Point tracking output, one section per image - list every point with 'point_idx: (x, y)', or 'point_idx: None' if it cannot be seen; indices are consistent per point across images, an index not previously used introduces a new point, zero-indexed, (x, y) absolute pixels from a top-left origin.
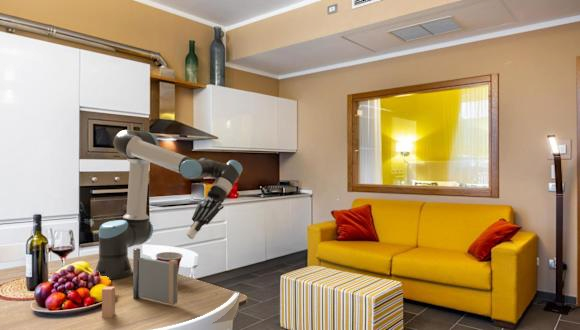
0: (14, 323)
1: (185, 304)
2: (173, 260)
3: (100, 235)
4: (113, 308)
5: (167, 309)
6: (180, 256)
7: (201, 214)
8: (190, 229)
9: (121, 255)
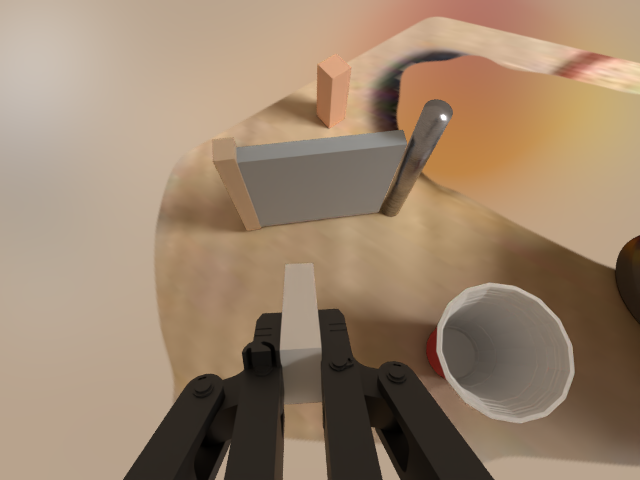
0: (426, 22)
1: (238, 254)
2: (224, 151)
3: None
4: (324, 111)
5: None
6: (489, 408)
7: (329, 475)
8: (309, 287)
9: None
